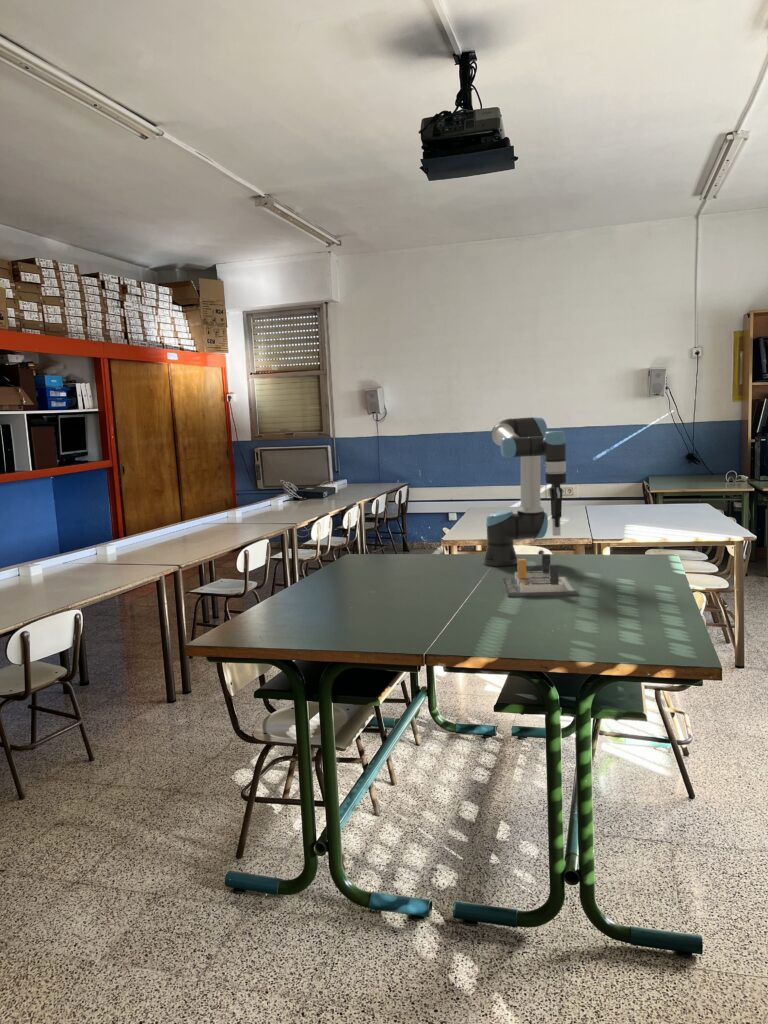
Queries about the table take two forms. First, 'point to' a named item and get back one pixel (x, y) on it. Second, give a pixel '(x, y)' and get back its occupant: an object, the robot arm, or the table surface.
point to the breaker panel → (539, 582)
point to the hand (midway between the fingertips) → (556, 535)
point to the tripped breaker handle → (521, 568)
